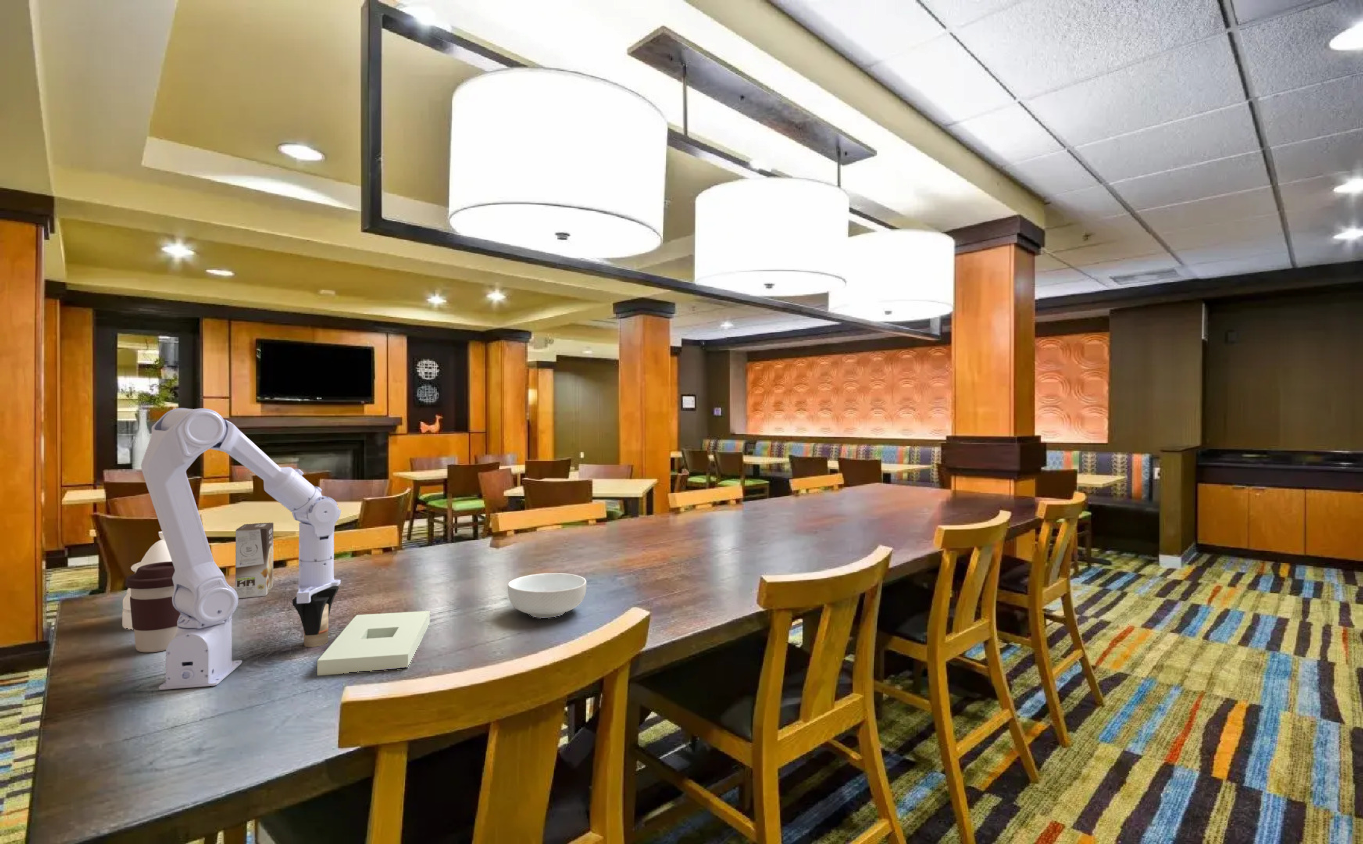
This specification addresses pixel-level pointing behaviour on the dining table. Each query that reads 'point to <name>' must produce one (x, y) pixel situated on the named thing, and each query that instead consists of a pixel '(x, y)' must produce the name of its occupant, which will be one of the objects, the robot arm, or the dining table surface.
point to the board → (375, 643)
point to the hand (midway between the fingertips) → (316, 630)
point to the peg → (323, 633)
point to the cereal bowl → (547, 593)
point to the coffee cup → (153, 606)
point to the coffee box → (254, 560)
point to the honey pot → (153, 555)
